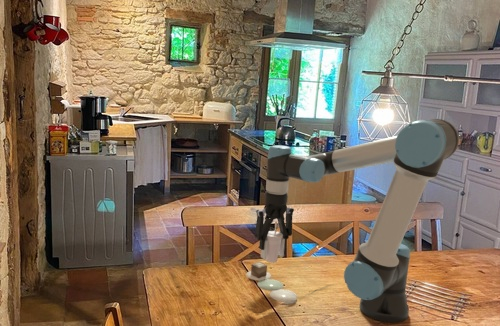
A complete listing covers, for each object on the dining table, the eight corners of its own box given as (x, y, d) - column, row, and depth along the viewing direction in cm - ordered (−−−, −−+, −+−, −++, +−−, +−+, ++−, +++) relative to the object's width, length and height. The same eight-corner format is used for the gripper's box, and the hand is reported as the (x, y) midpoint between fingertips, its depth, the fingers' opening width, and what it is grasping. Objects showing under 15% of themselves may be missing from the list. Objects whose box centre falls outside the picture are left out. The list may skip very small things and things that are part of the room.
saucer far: (275, 281, 166) (275, 278, 166) (253, 285, 162) (253, 282, 162) (263, 271, 174) (263, 268, 174) (241, 275, 170) (242, 272, 170)
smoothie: (281, 264, 156) (284, 225, 153) (262, 263, 156) (265, 224, 153) (280, 257, 162) (283, 219, 160) (262, 256, 162) (264, 218, 160)
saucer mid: (288, 291, 159) (288, 287, 159) (265, 295, 155) (265, 292, 155) (274, 280, 167) (274, 277, 167) (252, 284, 163) (253, 281, 162)
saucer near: (302, 302, 152) (302, 298, 151) (278, 307, 147) (279, 303, 147) (287, 290, 159) (287, 287, 159) (264, 295, 155) (265, 291, 155)
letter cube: (266, 275, 168) (267, 264, 167) (258, 278, 165) (259, 267, 164) (258, 271, 171) (259, 261, 170) (250, 274, 168) (251, 263, 167)
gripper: (294, 187, 162) (289, 249, 166) (246, 190, 153) (242, 256, 157) (306, 192, 156) (301, 257, 160) (257, 196, 147) (252, 264, 151)
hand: (272, 256), depth 159 cm, fingers closed on smoothie, 6 cm apart
